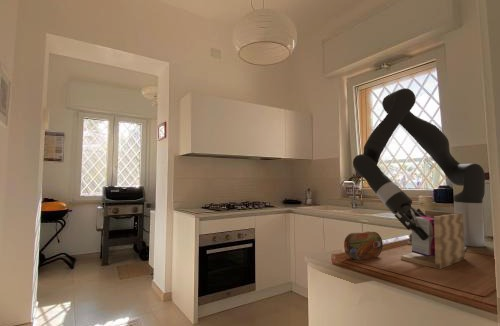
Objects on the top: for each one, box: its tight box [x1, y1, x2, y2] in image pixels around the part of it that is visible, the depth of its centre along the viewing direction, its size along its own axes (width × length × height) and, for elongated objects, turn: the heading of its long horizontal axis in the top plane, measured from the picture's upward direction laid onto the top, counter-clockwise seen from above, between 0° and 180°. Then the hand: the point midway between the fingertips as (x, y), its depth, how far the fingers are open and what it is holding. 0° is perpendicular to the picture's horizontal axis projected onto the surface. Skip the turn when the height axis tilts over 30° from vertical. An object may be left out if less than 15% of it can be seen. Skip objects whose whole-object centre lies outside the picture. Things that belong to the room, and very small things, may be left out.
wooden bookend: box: [400, 209, 466, 270], centre depth 88 cm, size 19×11×15 cm, turn 124°
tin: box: [343, 231, 384, 261], centre depth 89 cm, size 15×3×8 cm, turn 114°
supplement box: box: [411, 217, 435, 257], centre depth 86 cm, size 6×6×12 cm
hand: (431, 237), depth 85 cm, fingers closed on supplement box, 6 cm apart
